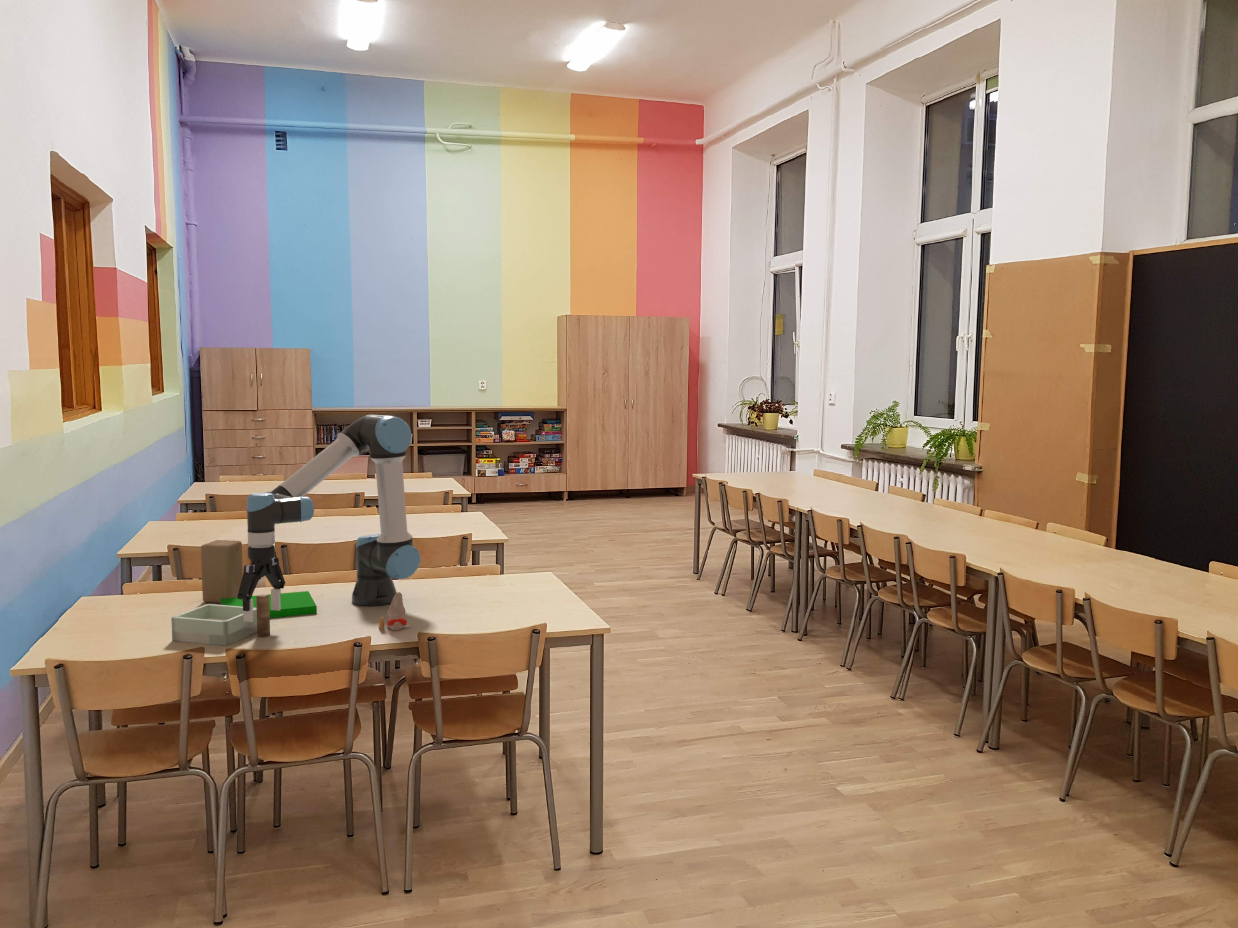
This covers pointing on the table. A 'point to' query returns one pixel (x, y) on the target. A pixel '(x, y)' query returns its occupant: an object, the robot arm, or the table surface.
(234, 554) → the wooden block
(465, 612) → the table surface
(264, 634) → the peg
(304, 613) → the book
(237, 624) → the crate
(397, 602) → the figurine
